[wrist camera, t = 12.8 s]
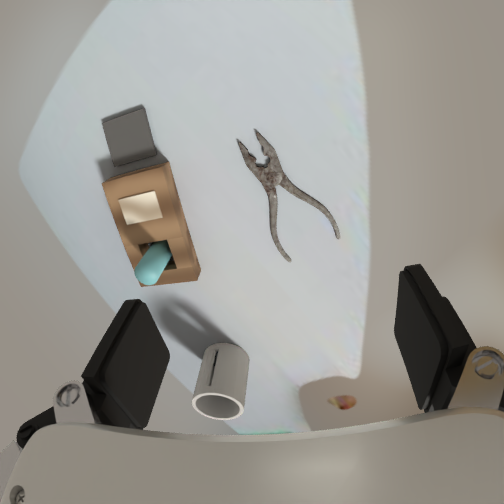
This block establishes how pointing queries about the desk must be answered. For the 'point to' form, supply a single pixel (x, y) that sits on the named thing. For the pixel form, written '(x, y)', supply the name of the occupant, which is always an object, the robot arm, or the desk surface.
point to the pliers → (275, 177)
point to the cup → (222, 382)
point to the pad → (129, 137)
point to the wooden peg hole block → (152, 220)
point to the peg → (153, 262)
